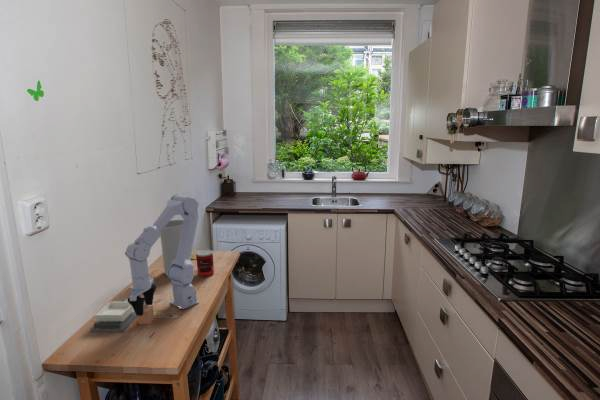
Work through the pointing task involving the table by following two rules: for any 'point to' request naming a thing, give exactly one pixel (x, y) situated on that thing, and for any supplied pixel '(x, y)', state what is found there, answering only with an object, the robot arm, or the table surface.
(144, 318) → the block
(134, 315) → the track
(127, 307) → the white shallow tray
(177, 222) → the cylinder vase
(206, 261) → the canned food
